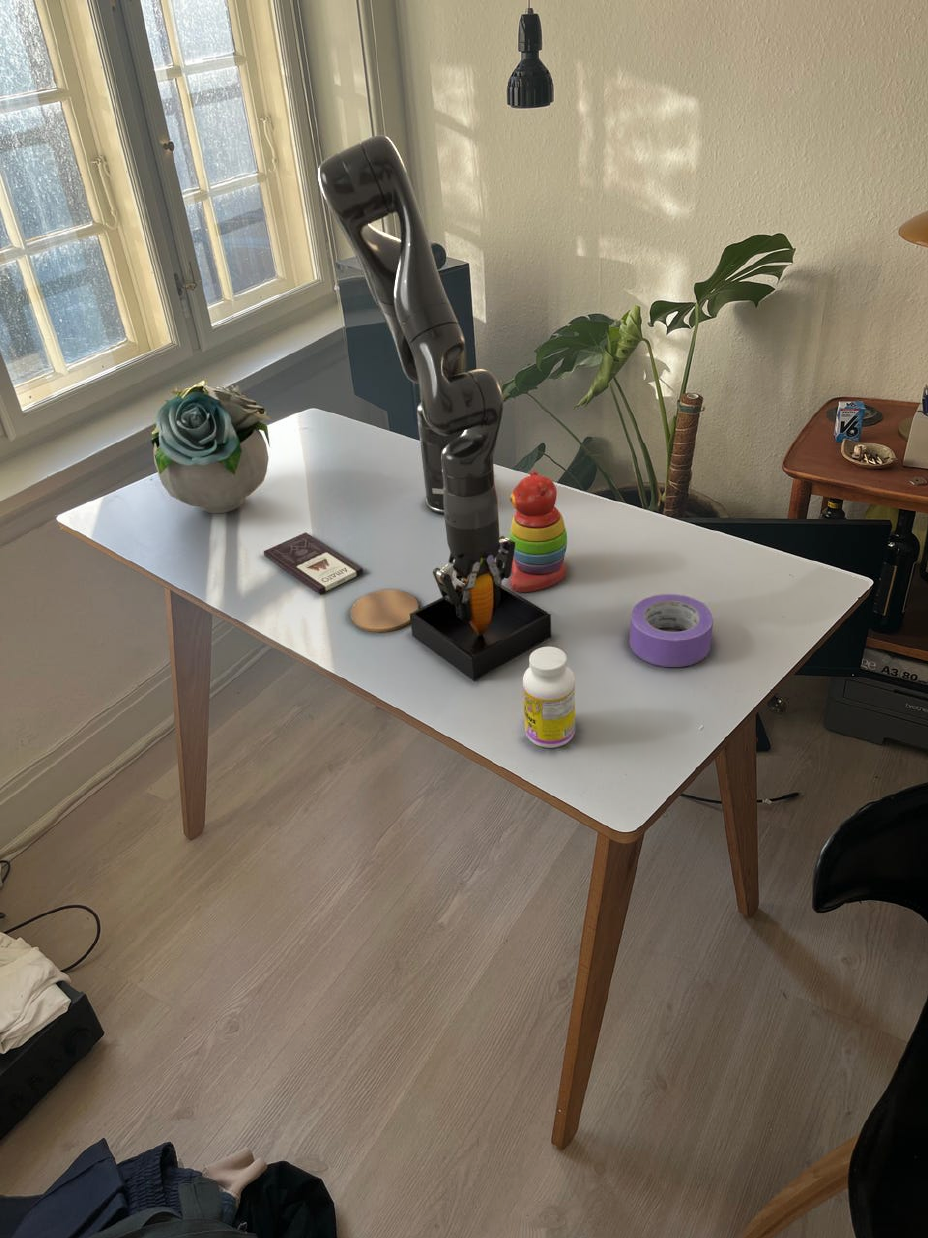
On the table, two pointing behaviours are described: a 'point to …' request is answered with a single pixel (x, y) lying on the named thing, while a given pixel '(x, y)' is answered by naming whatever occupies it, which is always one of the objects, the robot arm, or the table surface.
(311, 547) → the chocolate bar
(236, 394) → the flower arrangement
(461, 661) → the tray
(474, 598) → the carrot
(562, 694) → the supplement bottle
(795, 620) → the table surface
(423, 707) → the table surface
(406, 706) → the table surface
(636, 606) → the tape roll
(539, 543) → the stacking bear
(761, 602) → the table surface
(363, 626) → the disc
